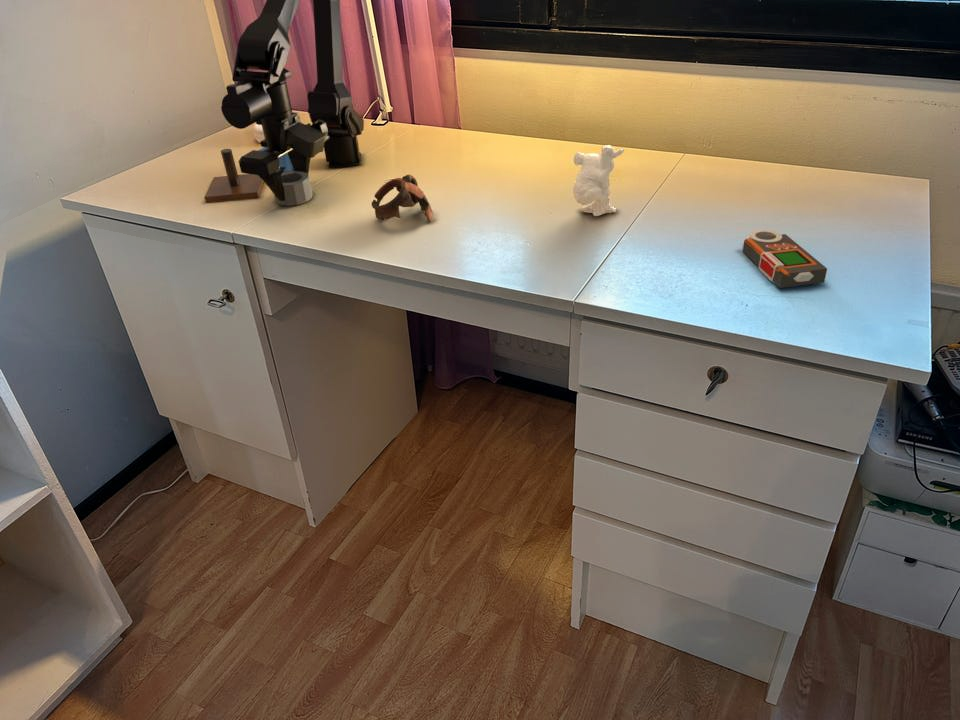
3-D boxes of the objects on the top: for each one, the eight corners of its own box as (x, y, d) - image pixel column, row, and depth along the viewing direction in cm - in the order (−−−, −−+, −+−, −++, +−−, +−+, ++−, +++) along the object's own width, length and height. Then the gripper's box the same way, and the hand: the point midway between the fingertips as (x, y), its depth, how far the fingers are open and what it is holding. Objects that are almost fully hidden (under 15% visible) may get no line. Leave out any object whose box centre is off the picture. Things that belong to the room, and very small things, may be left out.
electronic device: (778, 225, 114) (829, 267, 102) (775, 243, 116) (825, 286, 104) (737, 230, 114) (782, 272, 101) (734, 247, 115) (779, 291, 103)
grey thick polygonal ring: (313, 189, 142) (309, 169, 139) (310, 203, 136) (306, 183, 134) (278, 192, 141) (273, 172, 139) (274, 207, 136) (269, 186, 134)
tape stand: (265, 177, 148) (256, 139, 143) (258, 197, 140) (248, 157, 135) (215, 182, 148) (204, 143, 143) (205, 202, 140) (193, 162, 135)
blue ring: (295, 162, 154) (291, 143, 152) (292, 174, 149) (288, 155, 147) (263, 165, 154) (258, 146, 152) (258, 177, 149) (254, 158, 146)
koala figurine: (626, 208, 128) (630, 141, 121) (610, 223, 123) (614, 154, 116) (582, 199, 132) (584, 134, 125) (565, 214, 127) (566, 147, 120)
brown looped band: (434, 232, 125) (407, 198, 120) (390, 251, 129) (361, 219, 124) (441, 187, 133) (414, 154, 127) (399, 207, 137) (372, 175, 132)
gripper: (280, 131, 119) (299, 219, 129) (342, 97, 133) (355, 179, 142) (226, 125, 123) (248, 211, 133) (291, 93, 137) (307, 172, 146)
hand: (293, 192), depth 138 cm, fingers closed on grey thick polygonal ring, 7 cm apart
